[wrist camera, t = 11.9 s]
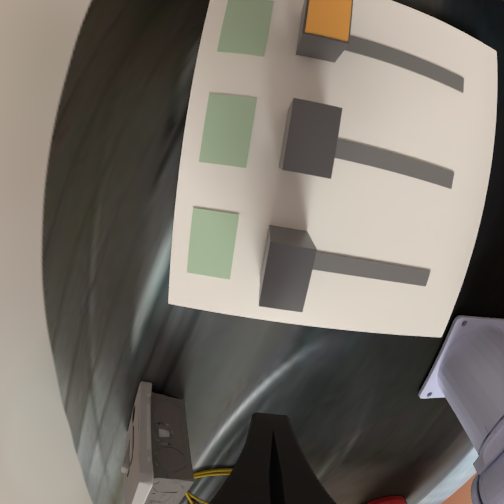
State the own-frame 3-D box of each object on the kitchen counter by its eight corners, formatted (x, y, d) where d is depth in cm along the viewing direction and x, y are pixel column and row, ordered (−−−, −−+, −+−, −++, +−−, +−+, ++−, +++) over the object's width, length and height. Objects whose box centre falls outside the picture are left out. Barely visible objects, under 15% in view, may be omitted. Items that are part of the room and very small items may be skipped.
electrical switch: (142, 374, 22) (112, 469, 13) (204, 394, 23) (196, 493, 14) (127, 434, 25) (106, 511, 16) (177, 449, 26) (167, 528, 17)
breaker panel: (480, 56, 14) (526, 41, 9) (429, 323, 20) (463, 364, 15) (222, -16, 14) (209, -62, 9) (176, 289, 20) (150, 332, 15)
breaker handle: (339, 16, 12) (354, -11, 9) (334, 62, 13) (350, 42, 10) (302, 7, 12) (309, -21, 9) (295, 54, 13) (302, 31, 10)
